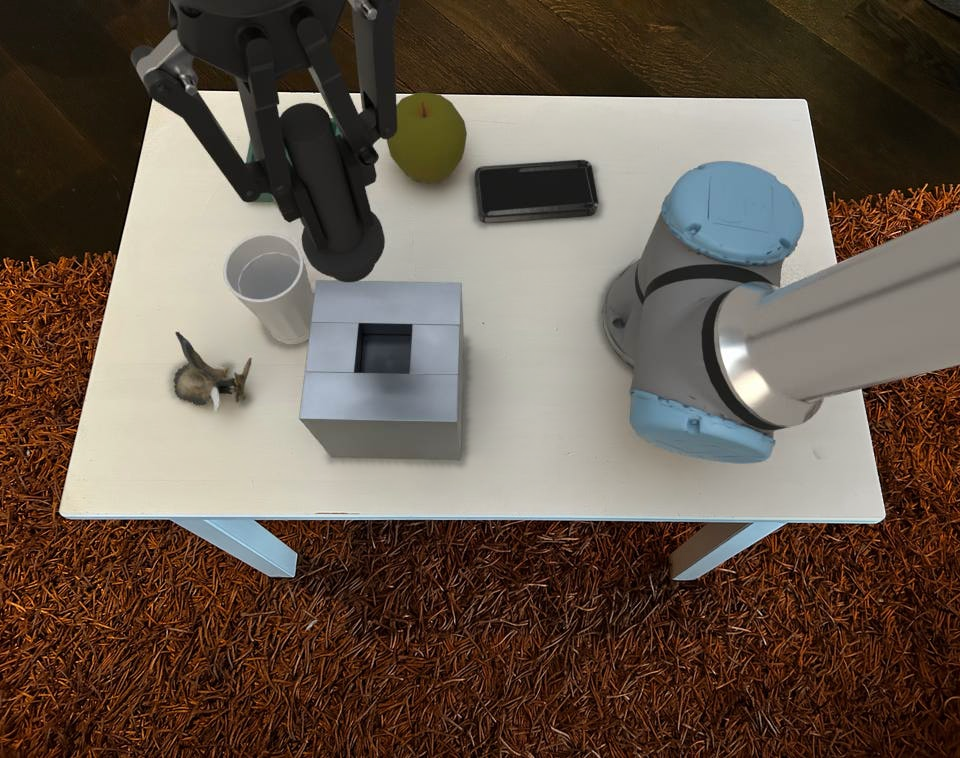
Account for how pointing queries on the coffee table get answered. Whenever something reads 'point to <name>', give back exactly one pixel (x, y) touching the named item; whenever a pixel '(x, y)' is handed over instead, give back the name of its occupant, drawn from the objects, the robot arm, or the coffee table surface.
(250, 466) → the coffee table surface
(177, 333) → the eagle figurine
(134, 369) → the coffee table surface
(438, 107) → the apple
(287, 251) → the cup
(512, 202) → the phone
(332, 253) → the plug
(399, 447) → the square hole box
